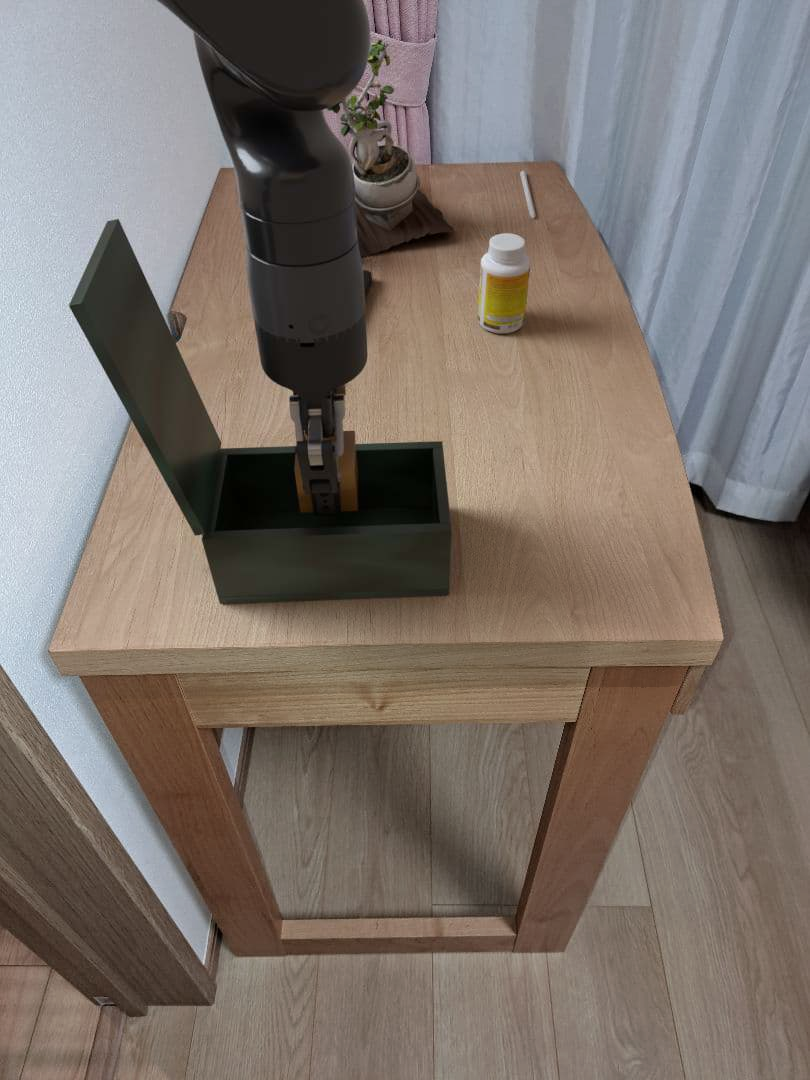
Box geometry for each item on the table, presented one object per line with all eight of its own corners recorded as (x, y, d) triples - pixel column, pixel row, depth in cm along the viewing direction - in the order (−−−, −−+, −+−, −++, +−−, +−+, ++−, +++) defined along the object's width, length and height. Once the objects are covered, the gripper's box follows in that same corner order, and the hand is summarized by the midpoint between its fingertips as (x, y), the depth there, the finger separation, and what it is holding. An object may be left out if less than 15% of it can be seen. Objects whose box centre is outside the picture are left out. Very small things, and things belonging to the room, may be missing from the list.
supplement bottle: (532, 329, 97) (542, 247, 89) (490, 340, 95) (496, 257, 88) (510, 306, 100) (517, 225, 93) (469, 316, 99) (473, 235, 92)
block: (357, 511, 66) (354, 468, 63) (300, 513, 66) (294, 470, 63) (357, 472, 69) (355, 430, 66) (303, 474, 69) (297, 431, 66)
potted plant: (465, 252, 115) (442, 82, 93) (344, 310, 113) (292, 152, 92) (405, 173, 124) (371, 3, 102) (293, 226, 123) (234, 66, 101)
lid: (118, 218, 56) (106, 220, 56) (81, 303, 48) (68, 305, 48) (221, 443, 70) (212, 444, 70) (205, 534, 63) (194, 536, 63)
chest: (440, 506, 77) (442, 440, 71) (449, 595, 69) (451, 530, 64) (233, 513, 76) (218, 448, 71) (219, 604, 69) (201, 539, 63)
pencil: (529, 218, 116) (519, 172, 126) (532, 223, 116) (521, 177, 126) (534, 214, 115) (524, 169, 126) (537, 219, 116) (526, 174, 126)
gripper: (261, 253, 60) (287, 436, 72) (241, 368, 50) (276, 556, 62) (364, 250, 60) (373, 433, 72) (365, 364, 50) (375, 553, 63)
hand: (328, 489), depth 67 cm, fingers closed on block, 4 cm apart
